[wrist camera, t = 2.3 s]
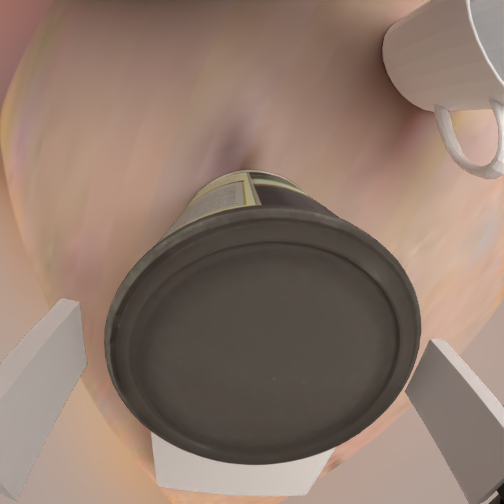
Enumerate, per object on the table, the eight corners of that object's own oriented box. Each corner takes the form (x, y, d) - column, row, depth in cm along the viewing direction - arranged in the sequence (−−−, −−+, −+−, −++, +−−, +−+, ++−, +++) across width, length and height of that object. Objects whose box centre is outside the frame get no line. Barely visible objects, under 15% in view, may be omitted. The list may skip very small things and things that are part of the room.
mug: (382, 6, 17) (458, -51, 7) (462, 41, 17) (549, 18, 8) (368, 151, 21) (460, 164, 11) (451, 174, 21) (548, 202, 11)
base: (160, 346, 25) (147, 386, 20) (343, 364, 26) (360, 402, 22) (163, 452, 30) (157, 486, 25) (299, 462, 32) (305, 494, 27)
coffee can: (322, 166, 21) (447, 207, 8) (319, 302, 24) (386, 447, 11) (170, 173, 21) (66, 224, 7) (185, 309, 24) (147, 465, 11)
